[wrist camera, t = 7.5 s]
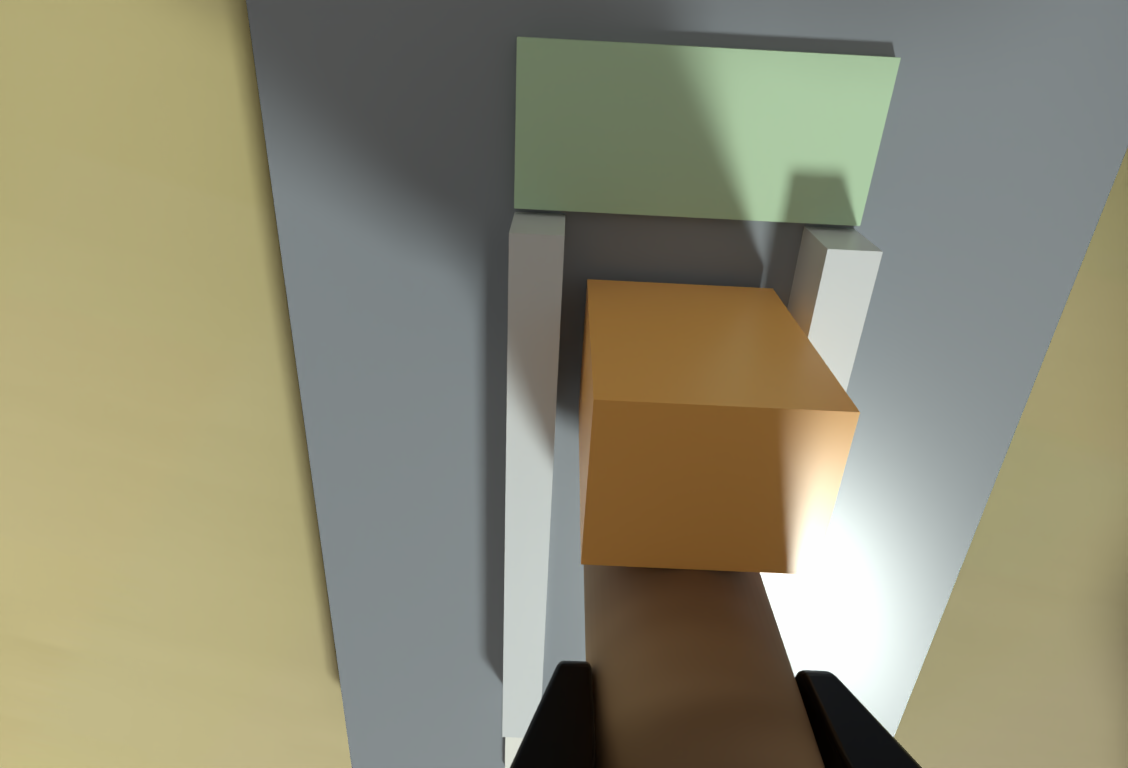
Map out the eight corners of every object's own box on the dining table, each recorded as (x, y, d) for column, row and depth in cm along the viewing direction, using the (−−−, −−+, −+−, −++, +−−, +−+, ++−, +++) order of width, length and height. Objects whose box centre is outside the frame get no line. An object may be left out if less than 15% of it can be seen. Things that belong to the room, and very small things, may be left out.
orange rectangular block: (747, 416, 13) (815, 574, 9) (578, 408, 13) (580, 564, 9) (773, 288, 12) (860, 412, 8) (587, 278, 12) (593, 400, 8)
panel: (838, 741, 20) (881, 861, 17) (374, 722, 20) (342, 840, 17) (1108, -43, 11) (1283, -57, 9) (284, -89, 11) (188, -119, 8)
